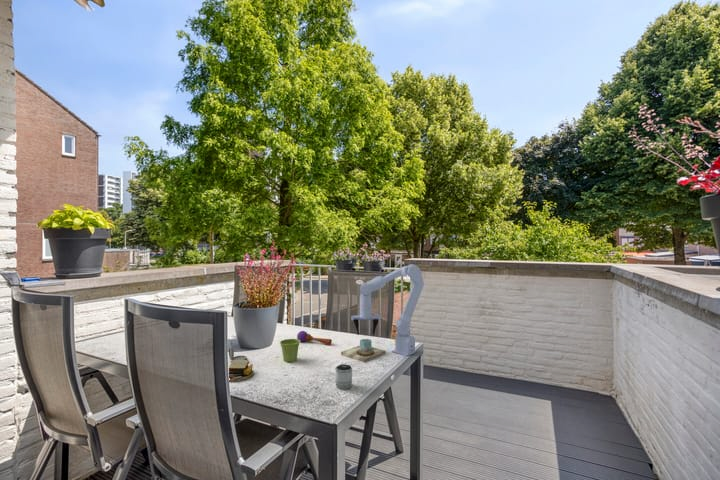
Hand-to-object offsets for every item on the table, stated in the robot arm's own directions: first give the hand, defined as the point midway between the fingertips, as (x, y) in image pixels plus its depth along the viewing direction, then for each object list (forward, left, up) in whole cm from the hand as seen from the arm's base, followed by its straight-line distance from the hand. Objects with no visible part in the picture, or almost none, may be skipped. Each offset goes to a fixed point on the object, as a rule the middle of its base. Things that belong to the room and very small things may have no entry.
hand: (365, 334), depth 173 cm
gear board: (-2, +4, -9) cm, 10 cm away
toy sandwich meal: (+19, +59, -9) cm, 62 cm away
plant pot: (+18, +33, -9) cm, 39 cm away
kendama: (+31, +8, -9) cm, 33 cm away
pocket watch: (+36, +50, -9) cm, 62 cm away
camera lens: (-21, +37, -9) cm, 43 cm away
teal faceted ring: (0, 0, -7) cm, 7 cm away
